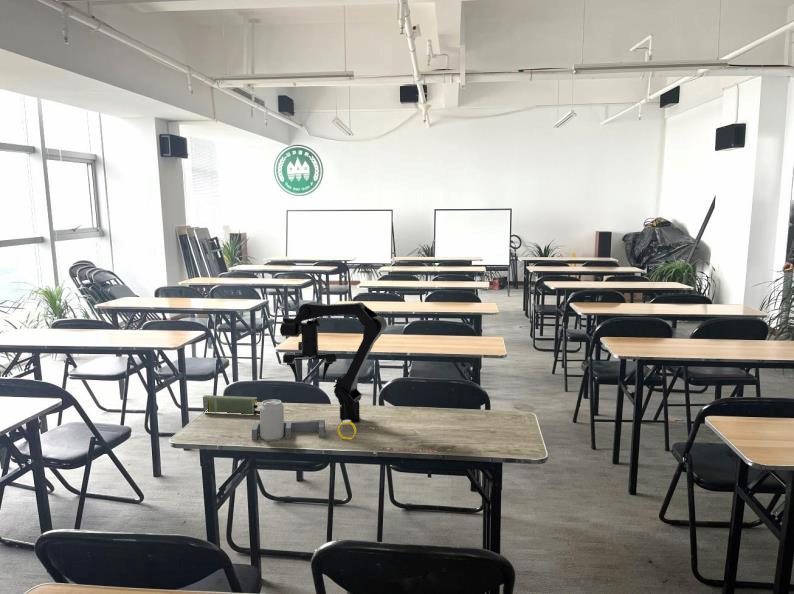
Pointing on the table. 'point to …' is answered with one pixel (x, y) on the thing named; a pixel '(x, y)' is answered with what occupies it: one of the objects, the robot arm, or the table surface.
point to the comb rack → (295, 428)
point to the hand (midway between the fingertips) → (310, 380)
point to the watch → (346, 423)
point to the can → (271, 420)
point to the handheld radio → (230, 404)
